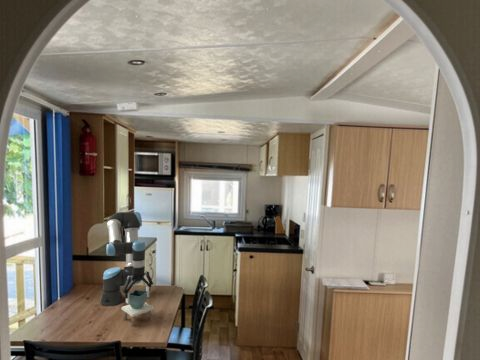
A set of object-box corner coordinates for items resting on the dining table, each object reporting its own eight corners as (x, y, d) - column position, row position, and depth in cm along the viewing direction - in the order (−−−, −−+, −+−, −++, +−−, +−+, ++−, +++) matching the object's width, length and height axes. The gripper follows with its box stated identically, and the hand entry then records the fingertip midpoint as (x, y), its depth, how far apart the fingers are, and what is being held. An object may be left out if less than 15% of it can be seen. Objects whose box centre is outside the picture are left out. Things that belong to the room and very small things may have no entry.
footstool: (121, 319, 179) (121, 307, 179) (141, 312, 189) (142, 300, 189) (132, 327, 169) (132, 314, 169) (153, 319, 180) (153, 307, 180)
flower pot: (140, 311, 174) (140, 296, 174) (127, 309, 176) (127, 294, 176) (147, 304, 183) (147, 291, 183) (135, 303, 184) (135, 289, 184)
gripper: (122, 272, 167) (121, 307, 167) (159, 263, 186) (158, 295, 186) (116, 269, 172) (115, 303, 172) (152, 261, 191) (152, 292, 191)
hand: (137, 299), depth 179 cm, fingers open, 13 cm apart
